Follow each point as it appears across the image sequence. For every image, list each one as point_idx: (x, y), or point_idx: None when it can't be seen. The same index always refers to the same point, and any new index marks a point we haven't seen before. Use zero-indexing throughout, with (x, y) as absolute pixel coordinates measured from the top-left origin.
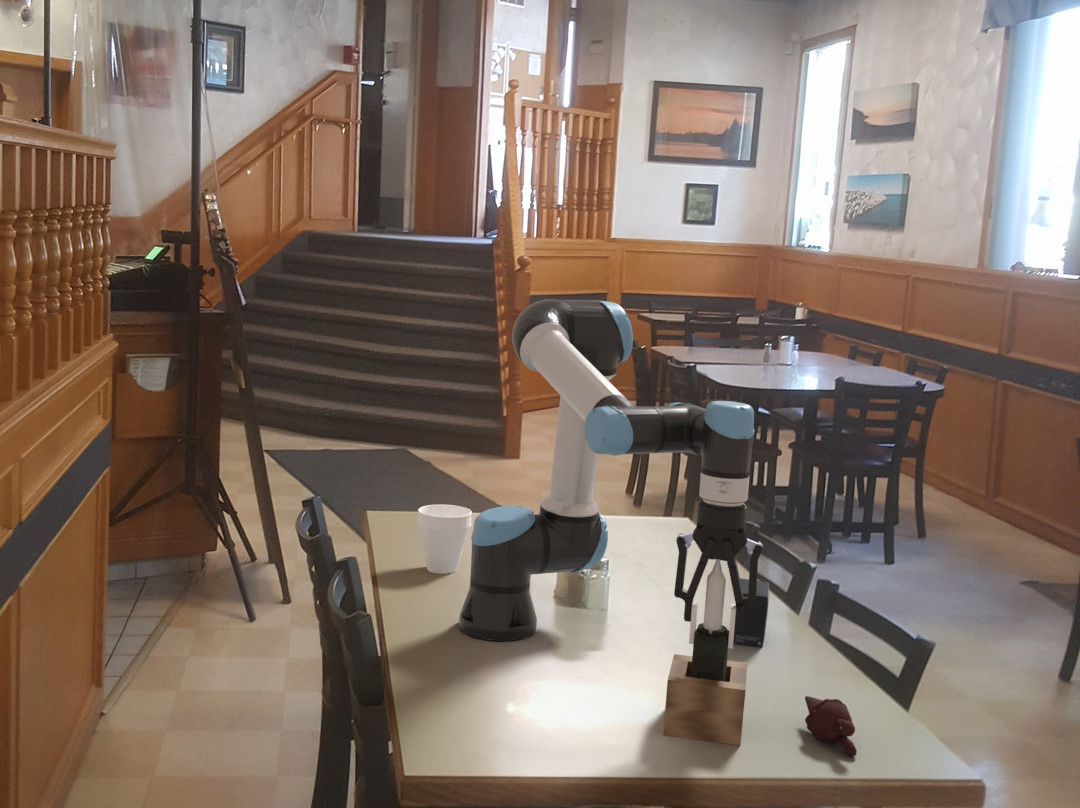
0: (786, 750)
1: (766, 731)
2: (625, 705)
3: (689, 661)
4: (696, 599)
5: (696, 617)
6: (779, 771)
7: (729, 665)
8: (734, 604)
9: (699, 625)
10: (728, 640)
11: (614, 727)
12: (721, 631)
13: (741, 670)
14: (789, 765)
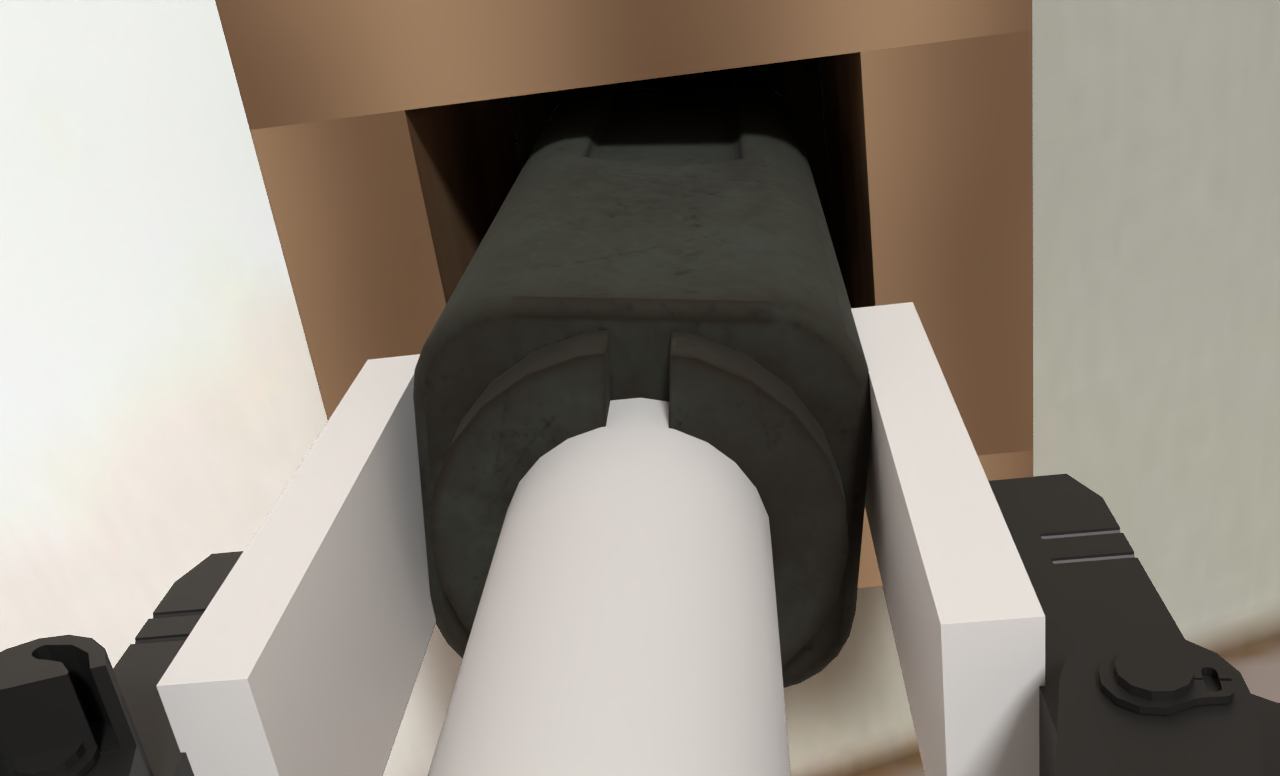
0: (1242, 313)
1: (1115, 65)
2: (83, 71)
3: (418, 106)
4: (218, 688)
5: (355, 534)
6: (1179, 591)
7: (836, 24)
8: (1002, 657)
9: (449, 548)
10: (876, 555)
11: (178, 435)
12: (784, 640)
13: (974, 114)
14: (1244, 503)
